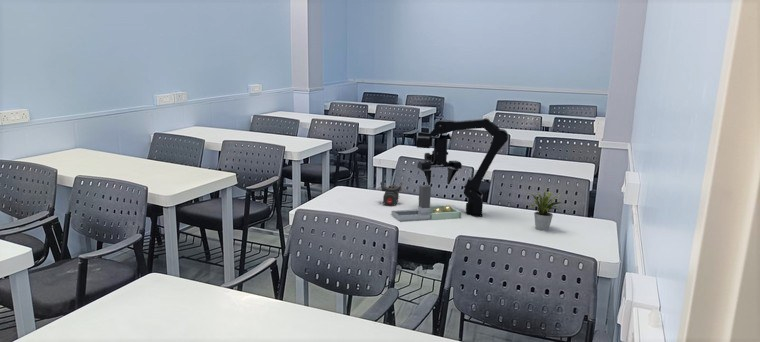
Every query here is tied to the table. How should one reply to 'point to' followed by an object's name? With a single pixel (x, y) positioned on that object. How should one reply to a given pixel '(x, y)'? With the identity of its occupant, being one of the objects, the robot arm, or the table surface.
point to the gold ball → (447, 209)
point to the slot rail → (410, 215)
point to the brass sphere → (437, 210)
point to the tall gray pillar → (424, 199)
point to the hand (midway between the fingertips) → (438, 184)
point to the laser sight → (390, 194)
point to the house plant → (544, 211)
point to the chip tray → (444, 213)
